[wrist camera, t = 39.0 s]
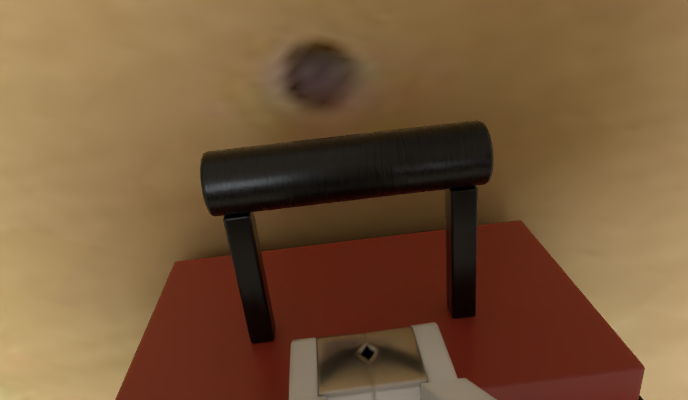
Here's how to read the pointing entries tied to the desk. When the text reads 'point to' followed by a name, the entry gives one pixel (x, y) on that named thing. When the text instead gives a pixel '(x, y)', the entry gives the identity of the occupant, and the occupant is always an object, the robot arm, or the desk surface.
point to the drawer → (373, 280)
